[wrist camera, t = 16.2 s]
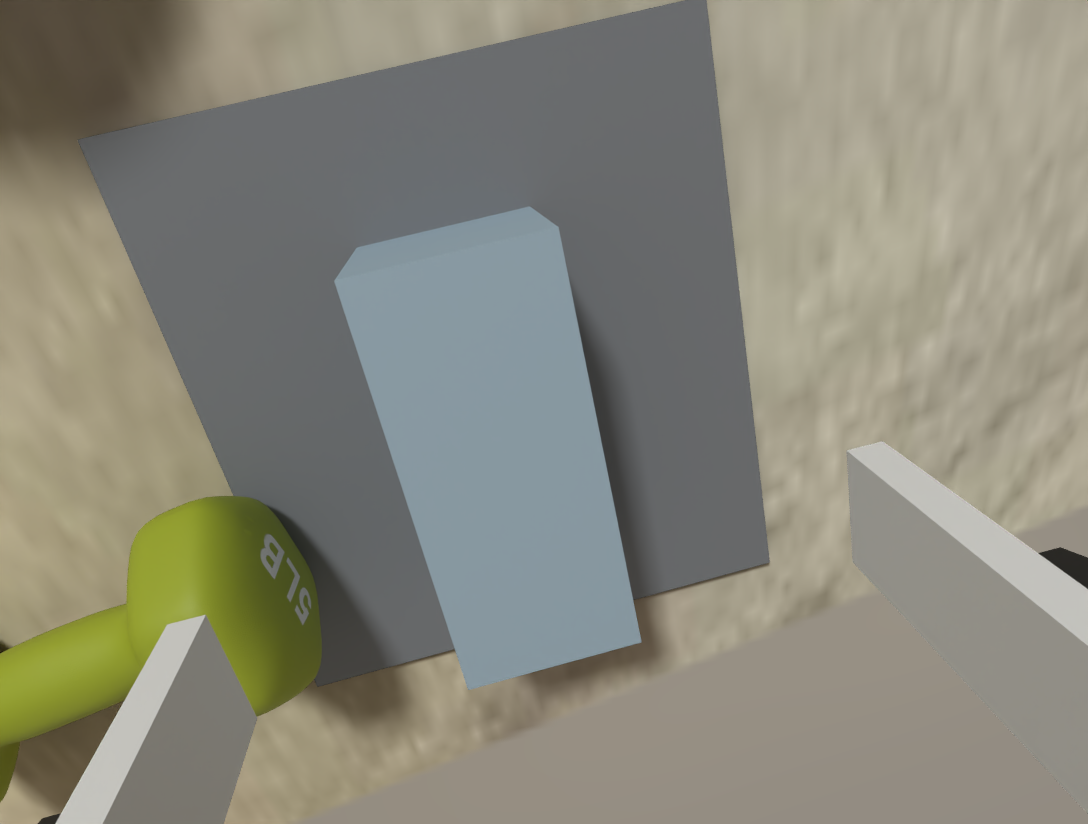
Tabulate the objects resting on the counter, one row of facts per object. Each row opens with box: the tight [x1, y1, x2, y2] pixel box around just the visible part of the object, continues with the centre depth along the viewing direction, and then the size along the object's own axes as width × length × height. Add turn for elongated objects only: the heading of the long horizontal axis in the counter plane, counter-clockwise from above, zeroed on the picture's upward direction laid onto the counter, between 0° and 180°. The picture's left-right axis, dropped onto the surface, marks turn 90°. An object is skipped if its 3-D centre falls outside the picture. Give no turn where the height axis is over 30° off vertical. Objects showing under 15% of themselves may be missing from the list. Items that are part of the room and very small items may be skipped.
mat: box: [78, 0, 770, 687], centre depth 27 cm, size 20×22×1 cm
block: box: [334, 206, 641, 690], centre depth 24 cm, size 6×6×14 cm
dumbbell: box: [0, 496, 322, 802], centre depth 24 cm, size 16×8×7 cm, turn 111°
